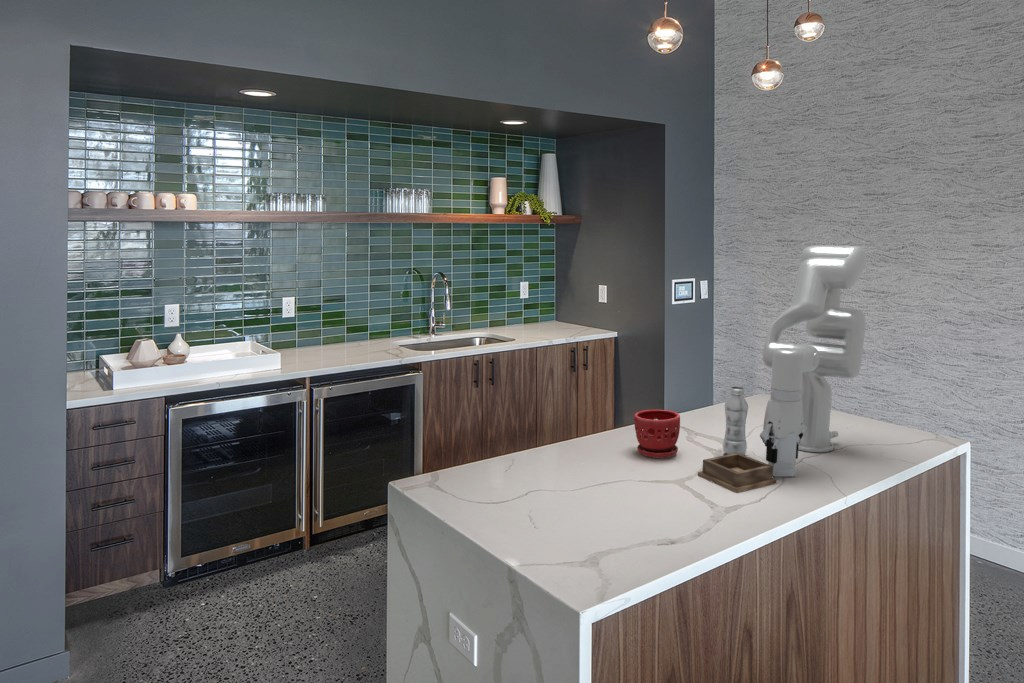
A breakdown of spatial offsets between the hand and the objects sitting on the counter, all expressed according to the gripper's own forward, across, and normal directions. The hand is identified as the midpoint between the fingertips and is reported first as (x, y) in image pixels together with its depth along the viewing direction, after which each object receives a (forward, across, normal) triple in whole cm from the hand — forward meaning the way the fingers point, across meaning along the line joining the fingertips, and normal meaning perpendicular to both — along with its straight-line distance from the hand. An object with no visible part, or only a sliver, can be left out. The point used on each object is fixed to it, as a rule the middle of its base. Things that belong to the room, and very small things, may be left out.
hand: (781, 459), depth 191 cm
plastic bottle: (+5, -1, -18) cm, 19 cm away
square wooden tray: (+4, +13, -3) cm, 14 cm away
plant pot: (+5, +18, -30) cm, 35 cm away
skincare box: (+5, 0, 0) cm, 5 cm away
